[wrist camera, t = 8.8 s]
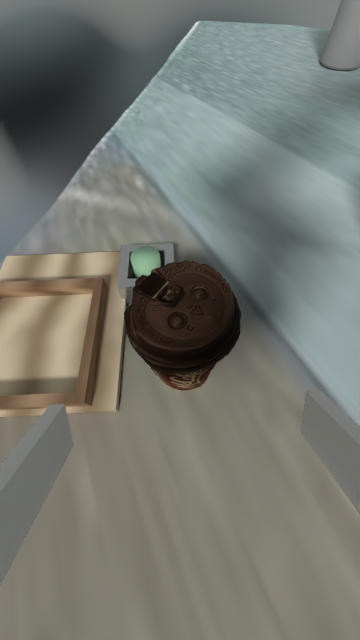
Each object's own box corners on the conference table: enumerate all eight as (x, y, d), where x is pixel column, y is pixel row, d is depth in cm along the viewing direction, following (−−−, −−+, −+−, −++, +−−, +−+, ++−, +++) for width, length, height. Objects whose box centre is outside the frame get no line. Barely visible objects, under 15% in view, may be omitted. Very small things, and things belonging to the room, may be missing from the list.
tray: (130, 256, 35) (126, 240, 32) (118, 411, 24) (110, 407, 21) (11, 261, 34) (-4, 245, 32) (-56, 419, 24) (-86, 416, 21)
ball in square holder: (174, 261, 34) (173, 243, 31) (175, 300, 30) (175, 284, 27) (126, 263, 34) (121, 245, 31) (123, 303, 30) (116, 287, 27)
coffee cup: (140, 338, 28) (110, 263, 17) (204, 321, 29) (218, 240, 18) (156, 411, 24) (131, 379, 12) (230, 389, 25) (270, 340, 13)
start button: (162, 264, 32) (159, 245, 29) (162, 285, 30) (159, 267, 27) (136, 265, 32) (131, 246, 29) (135, 286, 30) (129, 268, 27)
